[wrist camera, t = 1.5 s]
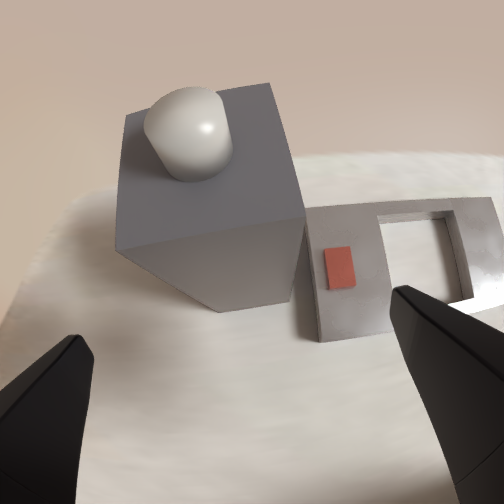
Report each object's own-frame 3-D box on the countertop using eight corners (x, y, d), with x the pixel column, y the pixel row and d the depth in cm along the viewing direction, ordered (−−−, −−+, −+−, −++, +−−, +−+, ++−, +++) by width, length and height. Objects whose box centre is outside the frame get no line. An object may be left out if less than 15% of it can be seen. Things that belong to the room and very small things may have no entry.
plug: (289, 301, 19) (312, 180, 5) (219, 312, 19) (80, 228, 5) (276, 235, 20) (266, 43, 6) (211, 247, 20) (106, 83, 7)
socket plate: (482, 204, 19) (494, 193, 17) (506, 302, 17) (521, 297, 15) (303, 218, 20) (305, 204, 18) (319, 342, 18) (324, 342, 16)
